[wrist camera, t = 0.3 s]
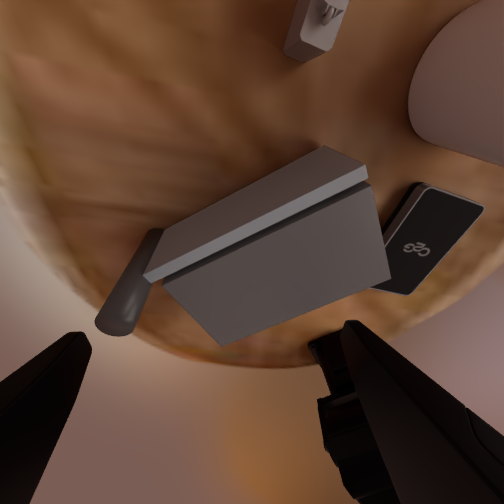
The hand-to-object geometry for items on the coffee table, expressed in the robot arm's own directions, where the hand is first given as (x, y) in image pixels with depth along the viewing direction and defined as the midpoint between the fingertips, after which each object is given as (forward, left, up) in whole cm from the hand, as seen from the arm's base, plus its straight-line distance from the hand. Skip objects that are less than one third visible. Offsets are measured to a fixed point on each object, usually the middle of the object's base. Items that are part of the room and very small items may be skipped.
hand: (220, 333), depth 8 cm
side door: (0, 0, -13) cm, 13 cm away
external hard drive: (-13, -14, -14) cm, 24 cm away
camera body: (-5, -2, -14) cm, 15 cm away
